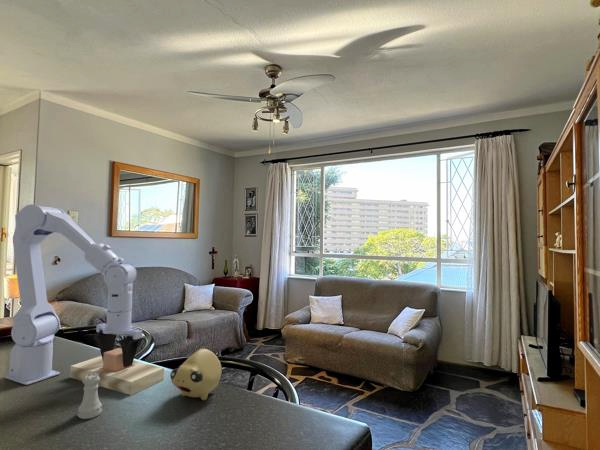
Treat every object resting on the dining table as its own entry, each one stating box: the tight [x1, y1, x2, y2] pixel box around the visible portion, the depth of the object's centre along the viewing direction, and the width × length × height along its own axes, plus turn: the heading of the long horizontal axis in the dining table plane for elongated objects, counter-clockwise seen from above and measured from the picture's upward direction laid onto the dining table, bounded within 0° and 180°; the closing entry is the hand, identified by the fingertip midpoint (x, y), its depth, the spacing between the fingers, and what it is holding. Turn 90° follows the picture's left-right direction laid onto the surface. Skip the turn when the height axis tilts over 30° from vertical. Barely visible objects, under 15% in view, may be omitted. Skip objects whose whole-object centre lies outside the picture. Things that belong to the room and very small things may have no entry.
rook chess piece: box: [76, 373, 103, 420], centre depth 73 cm, size 4×4×8 cm
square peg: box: [103, 347, 130, 373], centre depth 91 cm, size 4×4×7 cm
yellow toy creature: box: [170, 348, 222, 401], centre depth 82 cm, size 10×12×11 cm
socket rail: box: [69, 355, 165, 396], centre depth 91 cm, size 22×10×3 cm, turn 66°
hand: (117, 363), depth 92 cm, fingers open, 7 cm apart
